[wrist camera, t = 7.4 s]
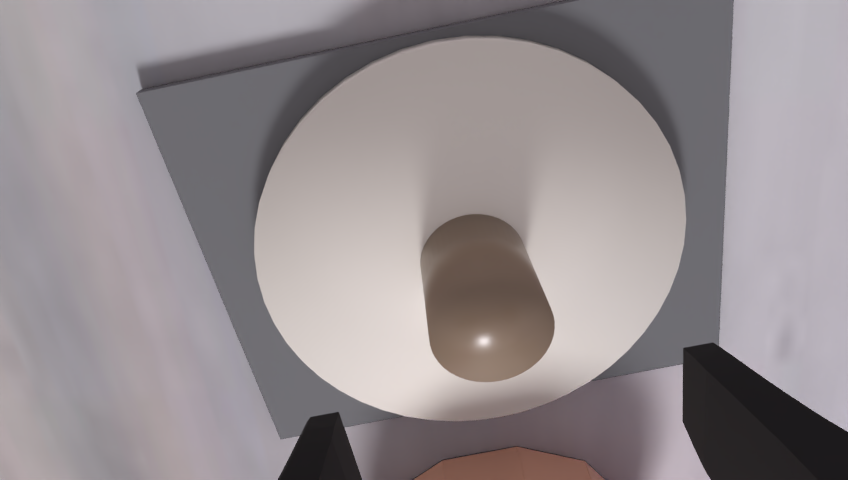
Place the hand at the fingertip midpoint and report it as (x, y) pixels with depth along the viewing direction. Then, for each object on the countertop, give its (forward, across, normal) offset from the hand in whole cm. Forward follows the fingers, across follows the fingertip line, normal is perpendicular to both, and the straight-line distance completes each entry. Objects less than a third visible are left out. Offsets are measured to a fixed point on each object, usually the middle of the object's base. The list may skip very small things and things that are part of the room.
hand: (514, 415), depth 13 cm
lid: (+7, 0, 0) cm, 7 cm away
